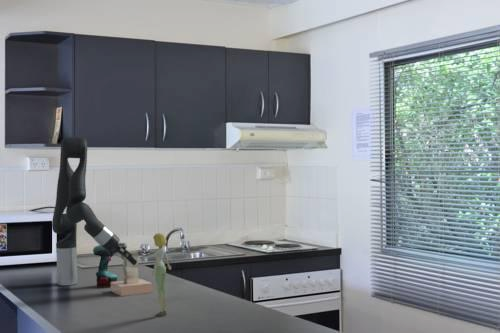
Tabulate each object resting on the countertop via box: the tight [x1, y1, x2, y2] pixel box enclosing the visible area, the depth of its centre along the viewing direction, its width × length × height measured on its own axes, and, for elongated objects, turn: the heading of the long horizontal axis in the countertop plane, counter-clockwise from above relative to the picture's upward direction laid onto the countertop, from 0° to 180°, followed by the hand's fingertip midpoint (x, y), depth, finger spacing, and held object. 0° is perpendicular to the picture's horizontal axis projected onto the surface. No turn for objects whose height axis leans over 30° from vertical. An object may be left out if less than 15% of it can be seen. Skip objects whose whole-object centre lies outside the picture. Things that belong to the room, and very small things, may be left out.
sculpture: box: [150, 232, 172, 317], centre depth 256 cm, size 13×5×30 cm, turn 157°
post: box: [122, 248, 139, 284], centre depth 304 cm, size 5×5×14 cm
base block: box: [110, 278, 153, 297], centre depth 304 cm, size 14×14×4 cm
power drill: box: [92, 242, 128, 288], centre depth 319 cm, size 7×16×20 cm, turn 78°
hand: (132, 262), depth 305 cm, fingers open, 8 cm apart
